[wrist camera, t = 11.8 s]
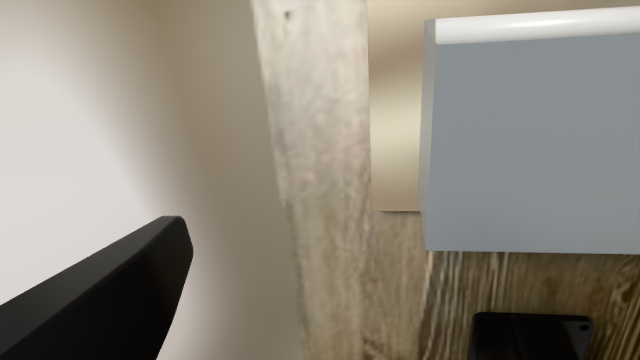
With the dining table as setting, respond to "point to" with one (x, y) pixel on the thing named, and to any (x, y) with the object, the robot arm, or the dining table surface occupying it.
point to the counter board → (418, 82)
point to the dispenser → (531, 132)
